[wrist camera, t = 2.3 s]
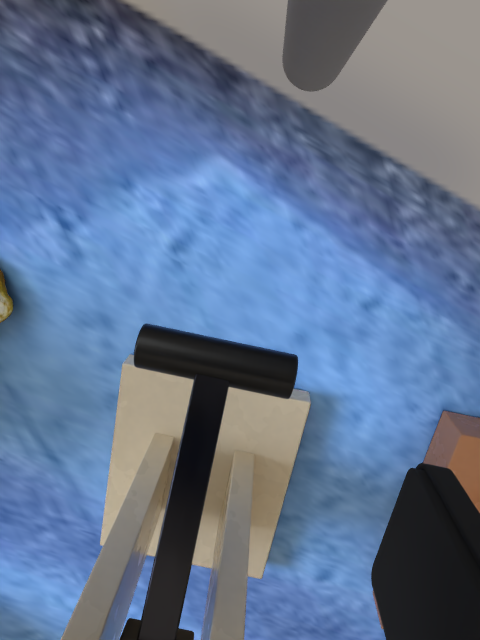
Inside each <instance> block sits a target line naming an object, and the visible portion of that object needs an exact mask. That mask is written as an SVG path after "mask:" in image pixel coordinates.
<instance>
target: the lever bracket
mask: <svg viewBox="0 0 480 640" xmlns="http://www.w3.org/2000/svg"><path fill="white" fill-rule="evenodd" d="M193 381H194V380H193V379H188V378H183V377H179V376H174V375H169V374H164V373H160V372H155V371H150V370H145V369H141V368H136V367H135V366H134V355H129V356H128V358H127V359H126V360H125V361H124V363H123V364H122V372H121V380H120V388H119V396H118V404H117V412H116V420H115V428H114V436H113V444H112V452H111V460H110V468H109V476H108V484H107V492H106V500H105V508H104V516H103V524H102V532H101V540H100V545H102V546H103V548H102V550H101V552H100V554H99V556H98V559H97V561H96V563H95V565H94V567H93V570H92V572H91V574H90V576H89V578H88V581H87V583H86V585H85V587H84V589H83V592H82V594H81V596H80V598H79V600H78V603H77V605H76V607H75V609H74V611H73V614H72V616H71V618H70V620H69V622H68V625H67V627H66V629H65V631H64V633H63V636H62V638H61V640H119V638H120V635H121V632H122V629H123V626H124V622H125V619H126V616H127V613H128V610H129V607H130V604H131V601H132V598H133V595H134V592H135V589H136V586H137V583H138V580H139V577H140V574H141V571H142V568H143V565H144V562H145V559H146V556H147V555H150V556H154V557H155V555H156V550H157V546H158V541H159V537H160V532H161V527H162V523H163V518H164V514H165V509H166V505H167V500H168V495H169V491H170V486H171V482H172V477H173V473H174V468H175V464H176V459H177V454H178V450H179V445H180V441H181V436H182V432H183V427H184V423H185V418H186V413H187V409H188V404H189V400H190V395H191V391H192V386H193ZM310 406H311V401H310V395H309V392H307V391H303V390H298V389H293V392H292V395H291V397H290V398H289V399H283V398H278V397H274V396H269V395H264V394H259V393H255V392H250V391H245V390H240V389H236V388H231V387H229V389H228V393H227V398H226V403H225V408H224V412H223V417H222V422H221V427H220V432H219V436H218V441H217V446H216V451H215V455H214V460H213V465H212V470H211V475H210V479H209V484H208V489H207V494H206V498H205V503H204V508H203V513H202V518H201V522H200V527H199V532H198V537H197V541H196V546H195V551H194V556H193V561H192V565H197V566H202V567H206V568H211V575H210V581H209V588H208V595H207V601H206V608H205V614H204V621H203V628H202V634H201V640H244V630H245V613H246V596H247V578H248V576H249V577H254V578H259V579H262V576H263V573H264V569H265V566H266V562H267V559H268V555H269V552H270V548H271V544H272V541H273V537H274V534H275V530H276V527H277V523H278V520H279V516H280V512H281V509H282V505H283V502H284V498H285V495H286V491H287V488H288V484H289V480H290V477H291V473H292V470H293V466H294V463H295V459H296V456H297V452H298V448H299V445H300V441H301V438H302V434H303V431H304V427H305V423H306V420H307V416H308V413H309V409H310Z"/></svg>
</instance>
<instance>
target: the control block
mask: <svg viewBox="0 0 480 640" xmlns="http://www.w3.org/2000/svg"><path fill="white" fill-rule="evenodd" d="M423 463H425V464H430V465H435V466H440V467H445V468H448V469H451V470H452V472H453V473H454V474H455V476H456V477H457V479H458V481H459V482H460V484H461V485H462V487H463V488H464V490H465V491H466V493H467V494H468V496H469V498H470V499H471V501H472V502H473V504H474V505H475V507H476V508H477V510H478V511H479V513H480V418H477V417H472V416H468V415H463V414H458V413H453V412H449V411H443V412H442V415H441V418H440V420H439V423H438V425H437V428H436V430H435V433H434V436H433V438H432V441H431V443H430V446H429V448H428V451H427V453H426V456H425V459H424V461H423ZM373 596H374V600H375V604H376V609H377V613H378V617H379V621H380V625H381V628H382V629H383V625H382V621H381V617H380V613H379V610H378V606H377V602H376V598H375V594H374V590H373Z"/></svg>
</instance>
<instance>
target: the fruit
mask: <svg viewBox="0 0 480 640" xmlns="http://www.w3.org/2000/svg"><path fill="white" fill-rule="evenodd" d="M12 311H13V300H12V298H11V297H10V296H9V295H8V293H7V289H6V287H5V279H4V275H3V272H2V271H1V269H0V323H1V322H2V321H4V320H5V319H6V318H7V317H9V316H10V315H11V313H12Z"/></svg>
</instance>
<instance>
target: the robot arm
mask: <svg viewBox="0 0 480 640" xmlns="http://www.w3.org/2000/svg"><path fill="white" fill-rule="evenodd" d="M371 579H372V587H373V590H374V594H375V598H376V602H377V606H378V610H379V613H380V617H381V621H382V625H383V629H384V633H385V636H386V640H480V513H479V511H478V510H477V508H476V507H475V505H474V504H473V502H472V501H471V499H470V498H469V496H468V494H467V493H466V491H465V490H464V488H463V487H462V485H461V484H460V482H459V481H458V479H457V477H456V476H455V474H454V473H453V472H452V470H451V469H448V468H445V467H440V466H435V465H430V464H425V463H421V464H419V465H418V466H417V467H416V469H415V468H410V469H409V470H408V472H407V474H406V477H405V480H404V482H403V485H402V488H401V490H400V493H399V496H398V498H397V501H396V504H395V507H394V509H393V512H392V515H391V517H390V520H389V523H388V526H387V528H386V531H385V534H384V536H383V539H382V542H381V545H380V547H379V550H378V553H377V555H376V558H375V561H374V564H373V567H372V574H371Z"/></svg>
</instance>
